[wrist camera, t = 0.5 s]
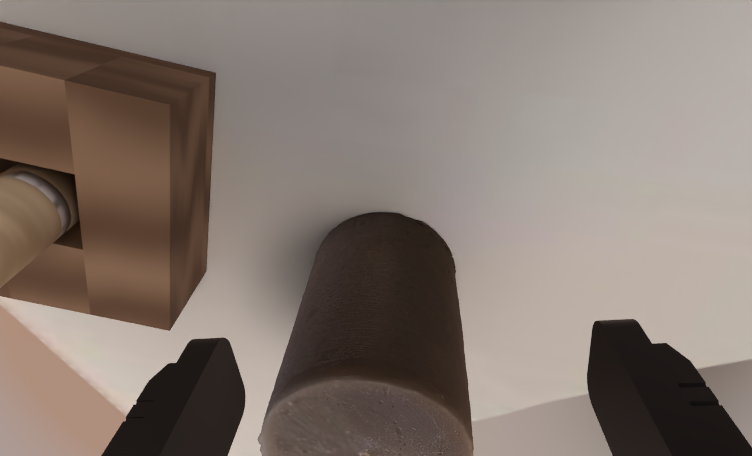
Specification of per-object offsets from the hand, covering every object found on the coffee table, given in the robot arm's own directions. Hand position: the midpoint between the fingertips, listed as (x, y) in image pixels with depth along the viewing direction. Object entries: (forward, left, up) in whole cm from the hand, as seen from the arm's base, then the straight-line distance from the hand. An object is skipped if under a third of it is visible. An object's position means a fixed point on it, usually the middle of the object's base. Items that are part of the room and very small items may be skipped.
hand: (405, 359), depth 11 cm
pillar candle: (+12, +1, -20) cm, 23 cm away
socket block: (+8, -18, -19) cm, 27 cm away
